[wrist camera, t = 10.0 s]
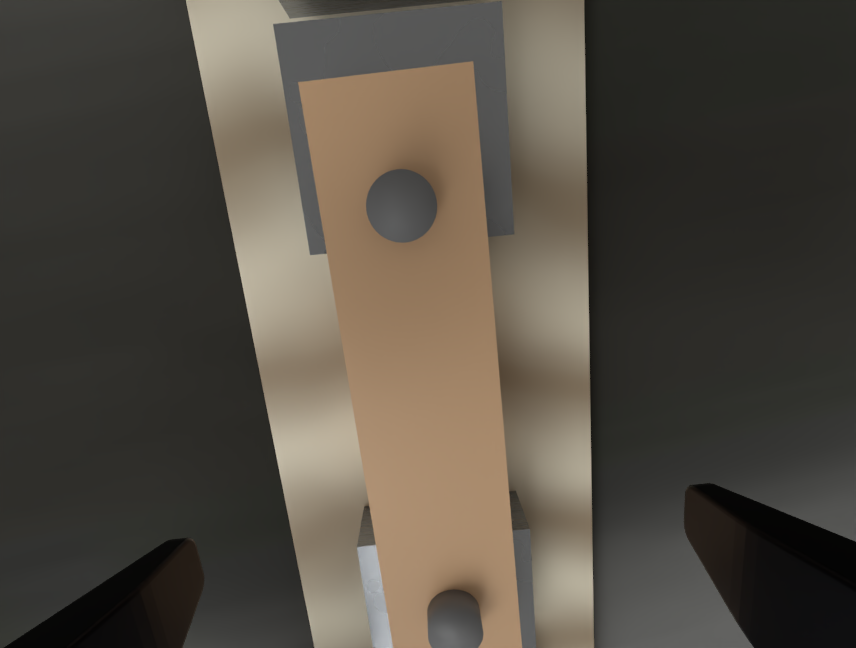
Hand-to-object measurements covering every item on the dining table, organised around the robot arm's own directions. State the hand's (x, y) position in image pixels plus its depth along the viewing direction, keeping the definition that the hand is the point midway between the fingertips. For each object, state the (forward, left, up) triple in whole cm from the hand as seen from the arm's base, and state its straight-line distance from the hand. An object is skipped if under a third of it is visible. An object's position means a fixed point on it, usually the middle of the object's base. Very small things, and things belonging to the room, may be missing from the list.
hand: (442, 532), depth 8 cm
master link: (0, 0, -8) cm, 8 cm away
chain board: (0, 0, -9) cm, 9 cm away
